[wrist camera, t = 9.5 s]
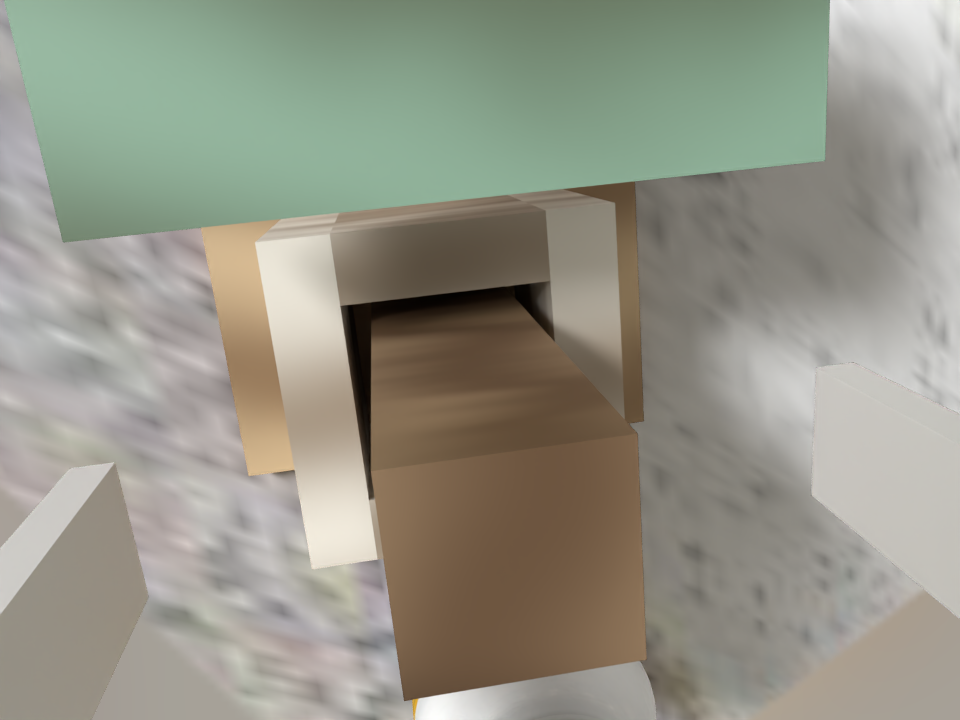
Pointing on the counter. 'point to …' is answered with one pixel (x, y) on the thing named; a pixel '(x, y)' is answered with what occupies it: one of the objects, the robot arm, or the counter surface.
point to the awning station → (403, 174)
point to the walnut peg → (499, 498)
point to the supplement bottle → (551, 698)
